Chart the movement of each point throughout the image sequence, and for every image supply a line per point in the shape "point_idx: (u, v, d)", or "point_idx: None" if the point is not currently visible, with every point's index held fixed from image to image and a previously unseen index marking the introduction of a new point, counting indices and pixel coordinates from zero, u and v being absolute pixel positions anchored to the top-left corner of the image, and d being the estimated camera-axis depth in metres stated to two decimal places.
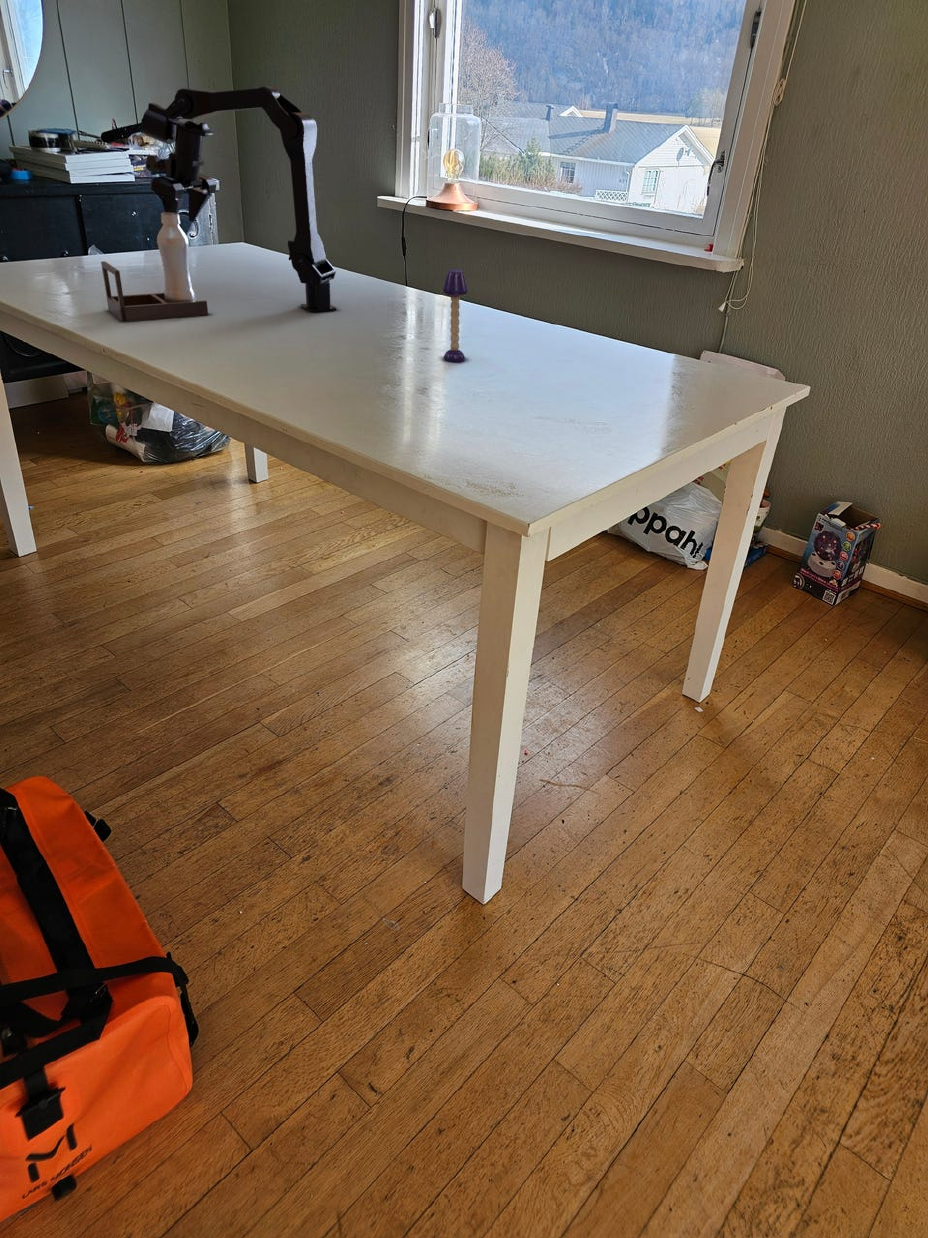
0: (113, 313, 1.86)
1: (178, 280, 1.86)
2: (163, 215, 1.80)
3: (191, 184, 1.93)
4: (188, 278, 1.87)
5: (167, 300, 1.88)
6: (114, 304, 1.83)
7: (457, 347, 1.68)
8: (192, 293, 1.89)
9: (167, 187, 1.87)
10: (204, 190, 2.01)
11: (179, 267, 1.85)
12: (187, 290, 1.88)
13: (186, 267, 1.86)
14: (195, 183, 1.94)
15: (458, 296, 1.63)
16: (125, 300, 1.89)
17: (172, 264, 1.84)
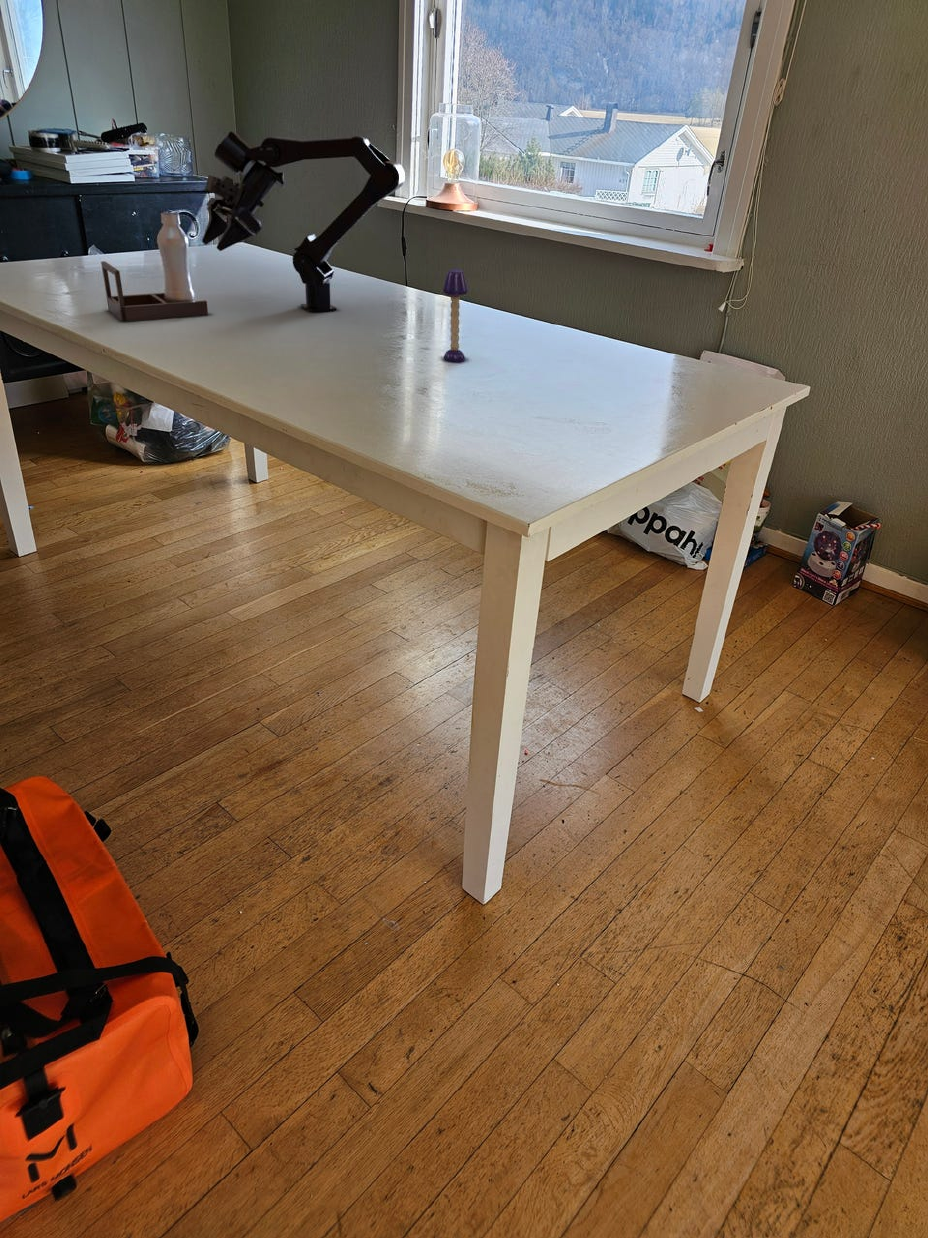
0: (113, 313, 1.86)
1: (178, 280, 1.86)
2: (163, 215, 1.80)
3: None
4: (188, 278, 1.87)
5: (167, 300, 1.88)
6: (114, 304, 1.83)
7: (457, 347, 1.68)
8: (192, 293, 1.89)
9: (256, 222, 1.83)
10: None
11: (179, 267, 1.85)
12: (187, 290, 1.88)
13: (186, 267, 1.86)
14: None
15: (458, 296, 1.63)
16: (125, 300, 1.89)
17: (172, 264, 1.84)
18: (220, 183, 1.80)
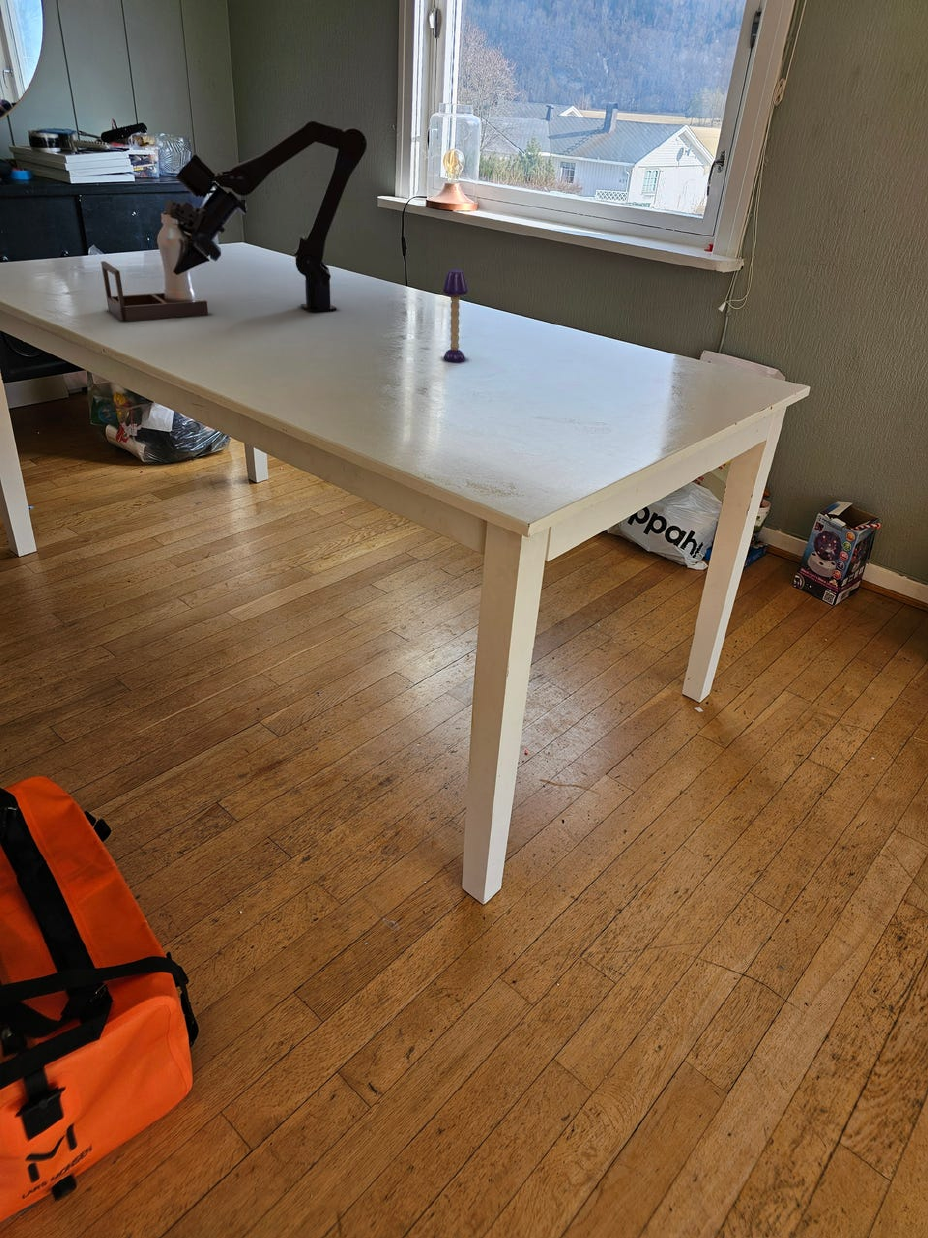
0: (113, 313, 1.86)
1: (178, 280, 1.86)
2: (163, 215, 1.80)
3: None
4: (188, 278, 1.87)
5: (167, 300, 1.88)
6: (114, 304, 1.83)
7: (457, 347, 1.68)
8: (192, 293, 1.89)
9: (215, 249, 1.81)
10: None
11: None
12: (187, 290, 1.88)
13: None
14: None
15: (458, 296, 1.63)
16: (125, 300, 1.89)
17: (172, 264, 1.84)
18: (179, 209, 1.78)
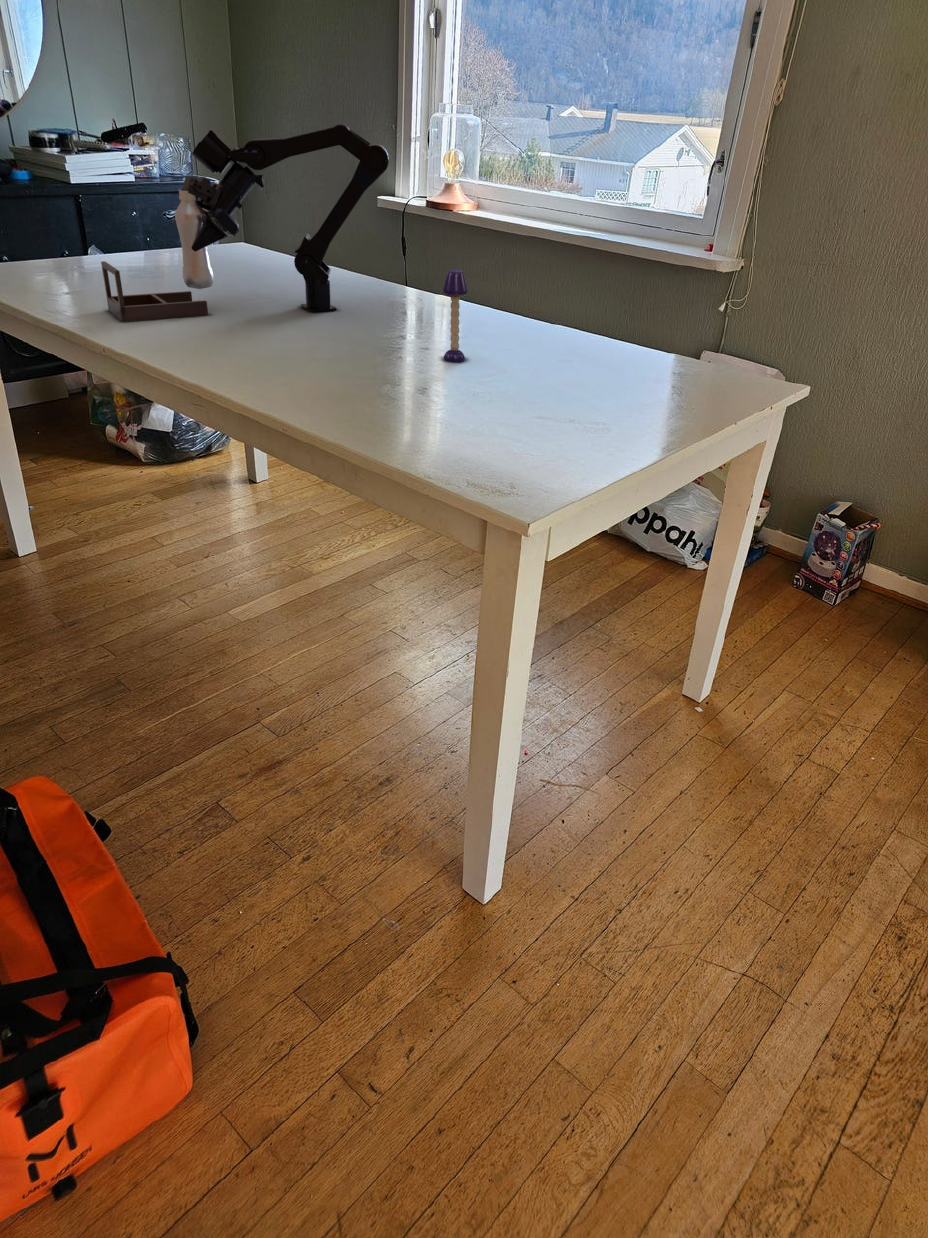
0: (113, 313, 1.86)
1: (196, 256, 1.86)
2: (181, 191, 1.80)
3: None
4: (206, 255, 1.87)
5: (185, 277, 1.88)
6: (114, 304, 1.83)
7: (457, 347, 1.68)
8: (210, 270, 1.89)
9: (234, 224, 1.80)
10: None
11: None
12: (205, 267, 1.88)
13: None
14: None
15: (458, 296, 1.63)
16: (125, 300, 1.89)
17: (191, 241, 1.84)
18: (197, 184, 1.78)
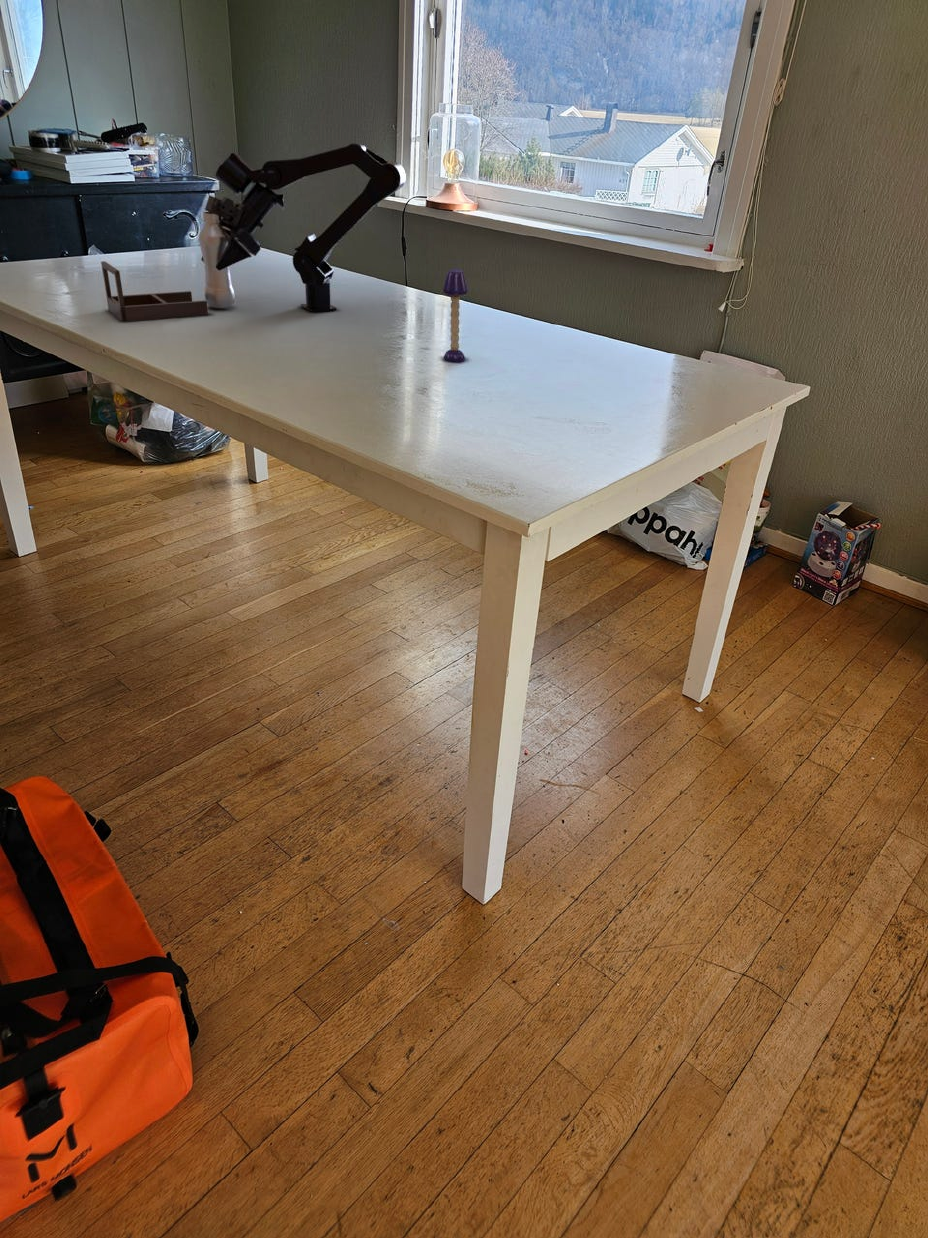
0: (113, 313, 1.86)
1: (219, 277, 1.91)
2: (205, 214, 1.85)
3: None
4: (228, 276, 1.92)
5: (207, 297, 1.93)
6: (114, 304, 1.83)
7: (457, 347, 1.68)
8: (232, 290, 1.94)
9: (255, 244, 1.85)
10: None
11: None
12: (227, 287, 1.93)
13: None
14: None
15: (458, 296, 1.63)
16: (125, 300, 1.89)
17: (213, 262, 1.89)
18: (220, 204, 1.82)
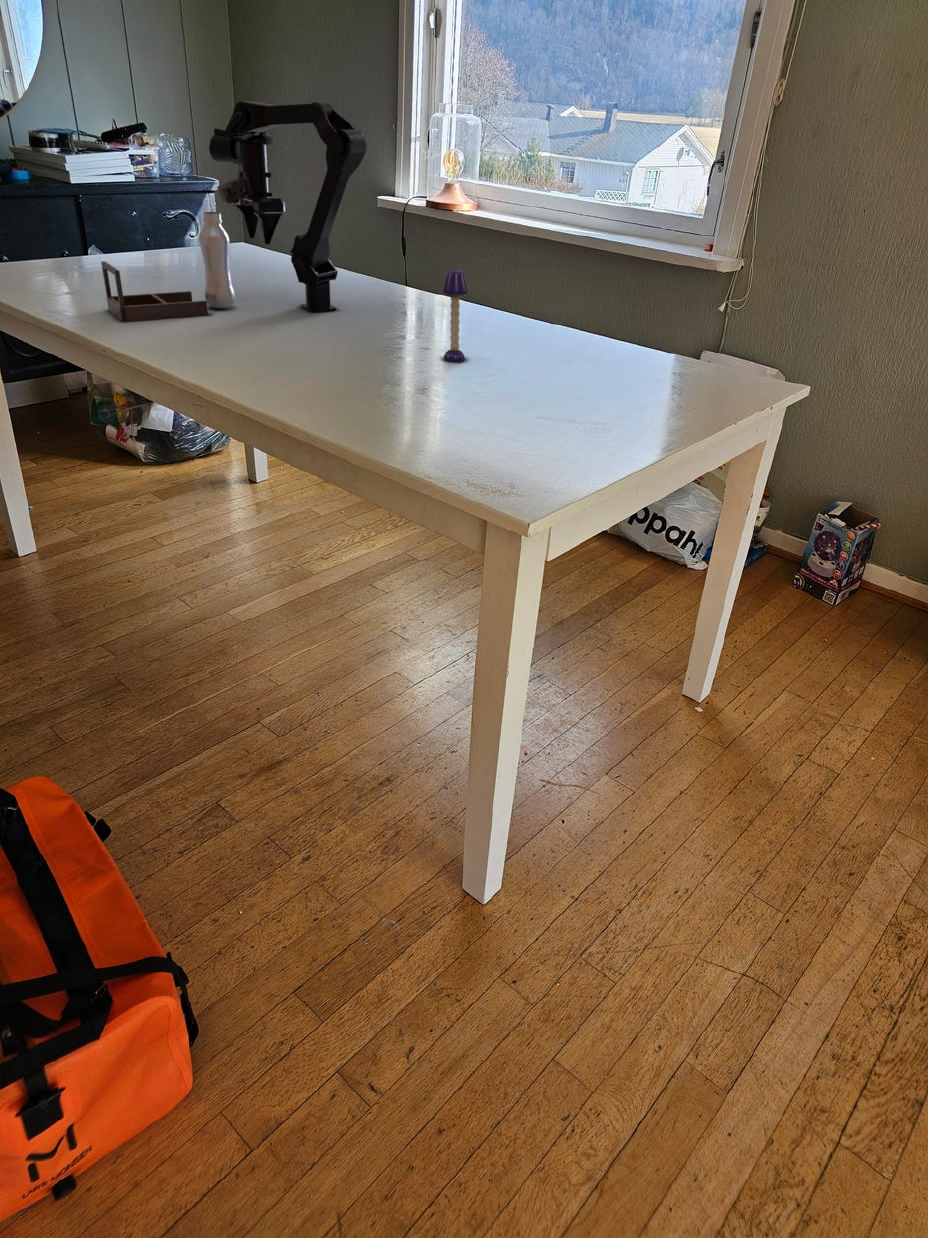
0: (113, 313, 1.86)
1: (219, 277, 1.91)
2: (205, 214, 1.85)
3: None
4: (228, 276, 1.92)
5: (207, 297, 1.93)
6: (114, 304, 1.83)
7: (457, 347, 1.68)
8: (232, 290, 1.94)
9: (278, 203, 1.89)
10: None
11: (220, 265, 1.90)
12: (227, 287, 1.93)
13: (226, 265, 1.91)
14: None
15: (458, 296, 1.63)
16: (125, 300, 1.89)
17: (213, 262, 1.89)
18: (231, 192, 1.88)
